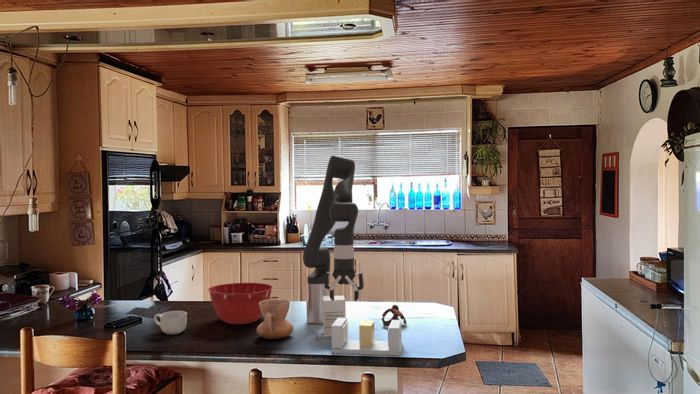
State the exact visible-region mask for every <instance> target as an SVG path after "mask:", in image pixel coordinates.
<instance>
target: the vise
mask: <svg viewBox="0 0 700 394" xmlns="http://www.w3.org/2000/svg"><path fill="white" fill-rule="evenodd" d="M402 337H403V336H402V319H399V320H392V321H391V323H390V325H389V326H388V328H387V340H374V345H373V347H372V348H360V343H359V339H347V340H346V342H345V344H344V345H343V347H342V348H332V347H331V353H332V354H348V355H349V354H351V355H354V354H355V355H374V356H375V355H378V356H401V354H402V351H403V347H404V341H403V339H402Z"/></svg>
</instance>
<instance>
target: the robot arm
mask: <svg viewBox="0 0 700 394" xmlns="http://www.w3.org/2000/svg"><path fill="white" fill-rule="evenodd" d="M327 163H328V164H327V167H326V170H325V171H326V172H325V177H324V183H323V187H322V190H321V194H320V198H319V201H318V204H317V208H316V212H315V215H314V221H313V224H312V228H311V231H310V234H309V236H308V240H307V243H306V244H305V247H304V250H303V253H302V262H303V265H304V266H305V267H306V268H308V269H314V268H315V269H314V271H313V272H312V273H310V274H309V275H308V276H307V283H306V284H307V285H306V286H307V287H306V288H307V300H306V302H305V303H306V304H305V305H306V306H305V307H306V323H307V324H309V323H310V324H317V325H319V324H323V296H330V299H331V300H332V301H334V296H335V287H336V286H337V284H338V285H350V286H351V287H352V289H354V290H353V291H354V293H353V294H354V295H353V296H354V297H353V298H354V300H353V301H354V302H357V301H358V300H359V297H360V293H359V292H360V291H361V290H363V288H365V287H364V286H365V285H364V283H365V282H364V273H363V272H362V271H361V272H356V271H355V247H354V246H355V245H354V232H355V231H354V230H355V226H356V222H357V218H358V215H359V208H358V206H357V204H356V203H355V202H353V185H354V180H355V172H356V170H355V169H356V163H355V161H354V160H353V159H351V158H349V157H346V156H342V155H341V156H340V155H336V154H332V155H331V156H330V158H329V161H328V162H327ZM334 178H335V179H338V180H340V181H339V182H338V183H337V184H336V186H335V187H334V185H333V179H334ZM339 222H340V223H343V222H346V223H347V224H346V225H345V226H343V227H339V228H335V230H334V231H333V232H334V233H333V234H334V235H333V236H334V237H333V239H334V241H333V243H334V246H333V272H332V271H330V270H331V254H330V251H329V248H328V247H327V246H325V245H322V242H323V240H324V239H325V238H326V236H327V235H328V234H329V233H330V232H331V230H332V229H333V227H334V226H335V225H336V223H339ZM332 277H333V278H334V281H333V282H332V284H331V285H330V279H331V278H332ZM355 277H356V278H357V279H358V283H359V285H358V284H357V283H356V281H355V280H354V279H355Z"/></svg>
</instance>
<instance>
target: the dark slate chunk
mask: <svg viewBox="0 0 700 394" xmlns="http://www.w3.org/2000/svg"><path fill="white" fill-rule="evenodd" d="M169 311H172V307H170V306H169V307H167V306H162V307H161V306H159V305H158V306H156V305H151V306H149V307H148V308H147V307H137V306H135V307H134V308H132V309H131V310H130V311H128V312H126V313H125V315H133V316H136V317H140V316H141V317H140V318H146V319H154V316H155V315H156V314H163V313H165V312H169Z"/></svg>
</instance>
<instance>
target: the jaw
mask: <svg viewBox="0 0 700 394" xmlns="http://www.w3.org/2000/svg"><path fill="white" fill-rule="evenodd" d="M348 324H349V323H348V318H347V317H346V318H337V319H336V321H335V322H334V323H333V324H332V326H331V327H332V336H325V335H324V334H323V335H321V334H320V335H318V334H317V335H315V339H316V340H325V341H326V340H327V341H328V340H329V341H331V349H332V348H342V347H343V345H344V344H345V342H346V340H348V337H349V331H348V330H349V327H348V326H349V325H348Z"/></svg>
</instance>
